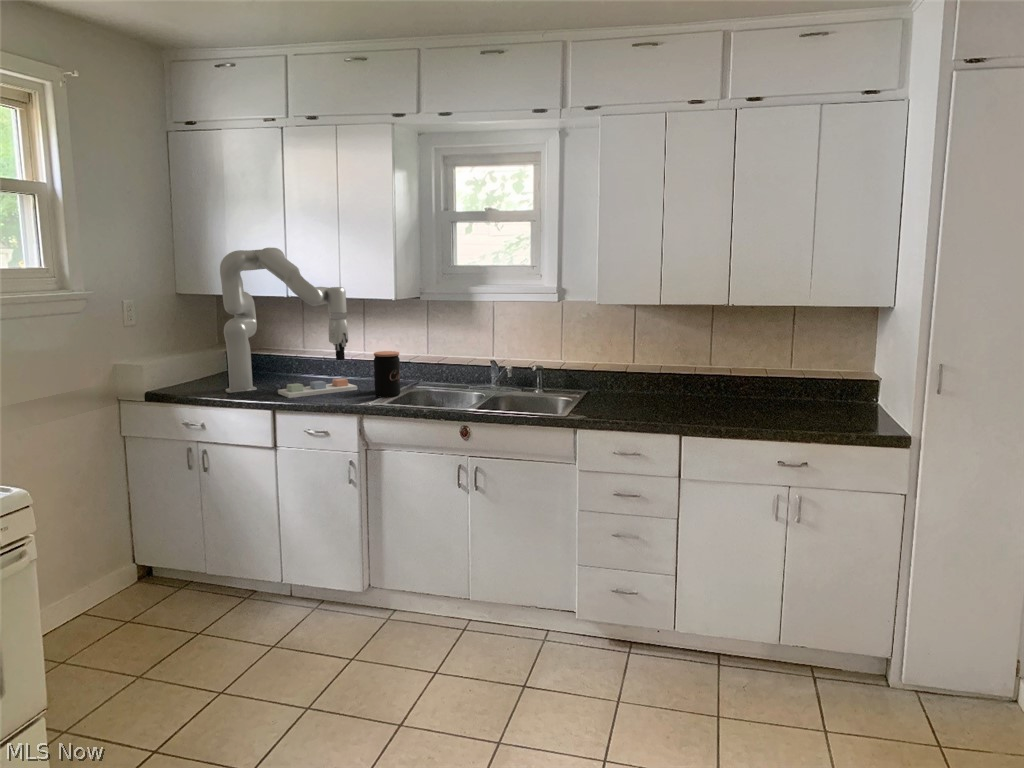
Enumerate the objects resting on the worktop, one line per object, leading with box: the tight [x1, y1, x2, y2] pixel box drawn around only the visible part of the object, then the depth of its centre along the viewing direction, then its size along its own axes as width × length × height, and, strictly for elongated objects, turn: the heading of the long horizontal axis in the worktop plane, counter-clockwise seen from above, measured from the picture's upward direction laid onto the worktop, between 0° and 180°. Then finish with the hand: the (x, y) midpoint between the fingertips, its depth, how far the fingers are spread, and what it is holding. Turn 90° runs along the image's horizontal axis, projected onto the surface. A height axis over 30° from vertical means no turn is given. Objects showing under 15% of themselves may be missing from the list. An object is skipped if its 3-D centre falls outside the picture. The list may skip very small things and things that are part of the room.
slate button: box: [309, 380, 327, 390], centre depth 319 cm, size 5×5×4 cm
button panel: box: [277, 382, 358, 399], centre depth 319 cm, size 12×30×3 cm, turn 127°
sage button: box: [286, 382, 304, 392], centre depth 313 cm, size 5×5×4 cm
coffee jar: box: [373, 350, 401, 398], centre depth 317 cm, size 11×11×18 cm
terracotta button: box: [331, 378, 349, 387], centre depth 325 cm, size 5×5×4 cm
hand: (340, 359), depth 323 cm, fingers closed
